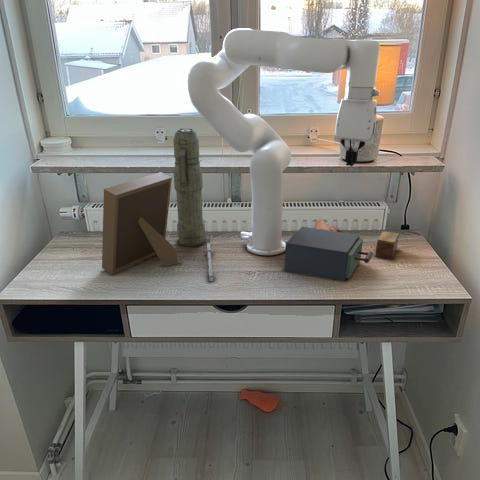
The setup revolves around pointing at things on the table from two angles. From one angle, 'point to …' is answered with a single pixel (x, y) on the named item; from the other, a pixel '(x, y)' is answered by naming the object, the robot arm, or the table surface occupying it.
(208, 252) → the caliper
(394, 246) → the box
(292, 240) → the cabinet
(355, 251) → the drawer
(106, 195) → the photo frame
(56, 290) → the table surface
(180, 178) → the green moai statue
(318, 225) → the sunglasses case
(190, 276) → the table surface
